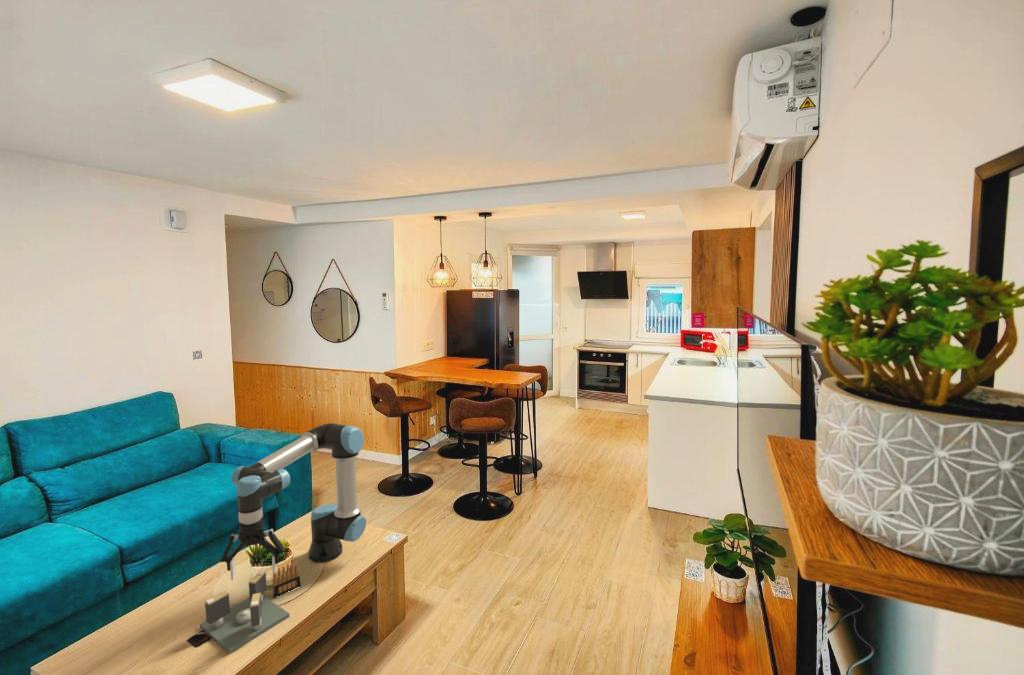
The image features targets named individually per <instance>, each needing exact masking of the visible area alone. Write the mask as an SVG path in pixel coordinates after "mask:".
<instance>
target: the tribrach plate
mask: <svg viewBox="0 0 1024 675" xmlns="http://www.w3.org/2000/svg"><path fill="white" fill-rule="evenodd" d="M250 605H251V601H250V596H249V597H247V598H246V599H244V600H242V601H241V602H239V603H236V604H234V605H233V606H231V607H230V613H229V614H227V615H226V616H224V617H223V622H224V625H223V627H221V628H219V629H215V628H214V623H212V624H209V623H207V622H206V620H205V621H204V622H202V623H200V624H199V628H200V630H201V631H202V630H203V631H204V632H206V633H207V634H208V635H209V636H210V637H211V638H212V639H211V640H213V641H214V642H215V643H216V644H217V645H218V646H219V647H221V648H222V649H223V650H224V651H225V652H226V653H227V654H228V655H230V654H233V653H234V652H235V651H237V650H239V649H240V648H241V647H243V646H245V645H246V644H248V643H250V642H251V641H253V640H255V639H256V638H258V637H260V636H262V635H263V634H265V633H266V632H268V631H269V630H270V629H272V628H274V627H276V626H278V624H280V623H282V622H284V621H285V620H287V619H289V618H290V612H288V611H287V610H286V609H283V607H281V606H280V605H278V604H277V603H275V602H274V601H272V600H270V598H268V597H267V596H265V595H264V594H263V604H262V605H261V606H262V614H261V622H262V628H261V629H260V630H258V631H253V629H252V627H251V612H250Z"/></svg>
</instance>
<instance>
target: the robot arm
mask: <svg viewBox="0 0 1024 675" xmlns="http://www.w3.org/2000/svg"><path fill="white" fill-rule="evenodd" d="M364 443H365V435H364V433H363V431H362V430H361V429H360V428H359V427H357V426H353V425H349V424H347V425H346V424H341V423H340V424H339V423H335V422H331V423H324V424H320V425H317V426H316V427H314V428H311V429H309V430H307V431H306V432H303V433H302V434H301V437H299V438H297V439H296V440H294V441H292V442H290V443H289V444H287V445H285V446H283V447H282V448H279V449H278V450H276V451H274V452H272V453H271V454H269V455H267V456H265V457H263V458H262V459H260V460H258V461H257V462H255V463H253V464H251V465H249V466H248V465H244V466H243V465H241V466H238V467H236V468H235V470H233V472H232V474H231V482H232V484H233V485H234V486H236V494H237V496H236V497H237V507H238V508H237V510H238V522H239V523H238V525H239V534H236V533H235V532H233V533H231V535H230V537H229V542H228V544H227V547H226V548H225V550H224V553H222V554H223V555H222V556H221V559H220V563H225V564H226V571H228V572H230V581H234V580H235V577H236V563H235V562H236V561H235V557H236V556H237V554H238V553H239V552H240V550H242V549H243V547H244V546H247V547H250V546H257V545H258V544H259V545H260V547H261V546H262V547H263V548H265V549H266V550H267V551H268V552H269V553H270V554H272V557H271V559H272V560H271V562H272V575H273V574H275V573H276V574H277V571H278V568H277V564H279V561H280V555H282V554H283V553H284V551H285V547H284V545H283V544H282V543H281V540H279V538H278V537H277V535H276V534H275V531H274V528H272V527H271V528H270V529H267V530H265V528H264V518H263V517H264V513H263V500H264V499H266V498H268V497H270V496H272V495H274V494H277V493H279V492H280V491H283V490H284V489H286V488H287V487H289V485H290V484H291V475H290V473H289V472H288V471H287V470H286V469H284V468H286V467H287V466H289V465H291V464H293V463H294V462H295V461H297V460H299V459H301V458H302V457H304V456H305V455H307V454H309V453H314V452H316V451H318V450H322V449H327V450H331V458H333V460H335V473H336V474H335V475H336V476H335V478H336V502H337V503H326V504H322V505H320V506H317V507H315V508H314V509H313V510H312V511H311V514H310V516H311V517H310V526H311V528H310V529H311V543H310V546H309V549H308V559H309V560H310V561H311V562H314V563H326V562H330V561H333V560H335V559H337V558H338V557H339V556H341V554H343V543H342V541H341V540H343V541H345V542H351V543H352V542H353V543H354V542H356V541H358V540H359V539H360V538H361V537H362V536H363V534H364V532H365V531H366V526H367V518H366V517H365V516H364V515H361V514H362V512H361V507H360V506H359V505H358V503H357V502H358V500H357V499H358V496H357V492H358V491H357V467H356V466H357V465H356V461H357V460H356V458H357V457H358V455H359V453H360V452H361V450H362V449H363V446H364ZM265 535H266V537H268V538H269V540H270V541H271V542H270V541H268V540H267V538H266V537H265ZM237 539H238V540H239V541H240V543H239V544H238V545H237V546H236V548H235V549H234V550H233V551H232V552H231V553H230V550H232V549H231V548H232V547H233V544H234V542H236V541H237ZM229 553H230V554H229ZM228 554H229V556H228Z"/></svg>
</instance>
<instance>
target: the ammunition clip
mask: <svg viewBox="0 0 1024 675" xmlns="http://www.w3.org/2000/svg"><path fill="white" fill-rule="evenodd" d="M294 564H295V565H294ZM301 583H302V582H301V575H300V567H299V561H298V560H295V563H294V562H291V564H290V565H289V563H287V564H286V567H285V565H283V566H282V568H280V567H278V568H277V572H276V573H275V574H273V573H272V597H273V598H274V599H276V598H275V597H277V596H279V597H280V595H281V596H283V595H285V594H284V593H286V592H288V591H290V592H292V591H291V590H293V589H295V588H297V587H300V586H301V587H302V584H301ZM301 587H300V588H301ZM297 589H298V588H297ZM295 590H296V589H295ZM293 591H294V590H293ZM288 593H289V592H288ZM282 594H283V595H282ZM286 594H287V593H286ZM277 598H278V597H277Z"/></svg>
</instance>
